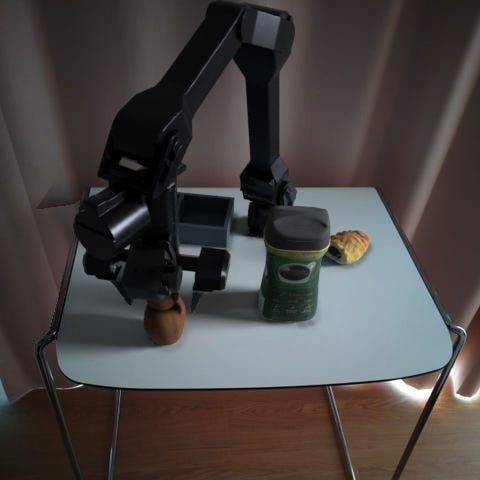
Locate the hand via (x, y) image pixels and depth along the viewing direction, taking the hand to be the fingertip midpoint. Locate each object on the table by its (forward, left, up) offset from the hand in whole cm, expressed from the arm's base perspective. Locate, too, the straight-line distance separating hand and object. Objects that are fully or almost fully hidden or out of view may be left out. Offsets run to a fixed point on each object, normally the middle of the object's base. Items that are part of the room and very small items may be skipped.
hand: (161, 307), depth 71 cm
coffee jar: (-18, -9, -7) cm, 22 cm away
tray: (+4, -28, -7) cm, 29 cm away
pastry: (-28, -25, -7) cm, 39 cm away
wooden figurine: (0, 0, -7) cm, 7 cm away
